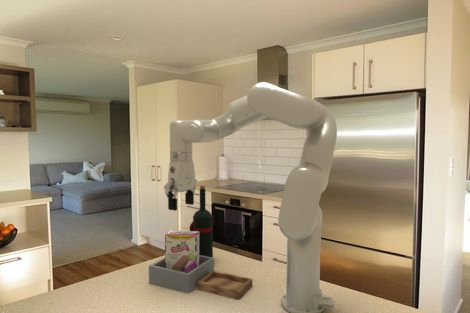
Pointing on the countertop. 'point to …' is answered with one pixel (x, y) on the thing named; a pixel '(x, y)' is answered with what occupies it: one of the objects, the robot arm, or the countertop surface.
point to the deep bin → (180, 275)
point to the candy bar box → (182, 250)
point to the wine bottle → (203, 227)
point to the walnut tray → (225, 284)
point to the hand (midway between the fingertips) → (181, 206)
